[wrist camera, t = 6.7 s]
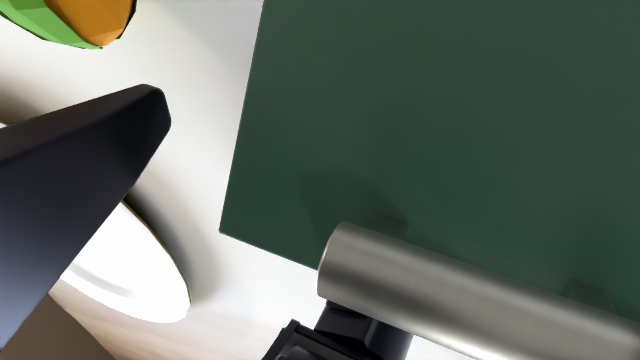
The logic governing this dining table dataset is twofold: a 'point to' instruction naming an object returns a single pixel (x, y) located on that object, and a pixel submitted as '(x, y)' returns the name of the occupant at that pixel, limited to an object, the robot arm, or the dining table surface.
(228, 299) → the dining table surface
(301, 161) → the lid
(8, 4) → the corn
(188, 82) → the dining table surface
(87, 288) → the plate
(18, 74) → the dining table surface
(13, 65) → the dining table surface
